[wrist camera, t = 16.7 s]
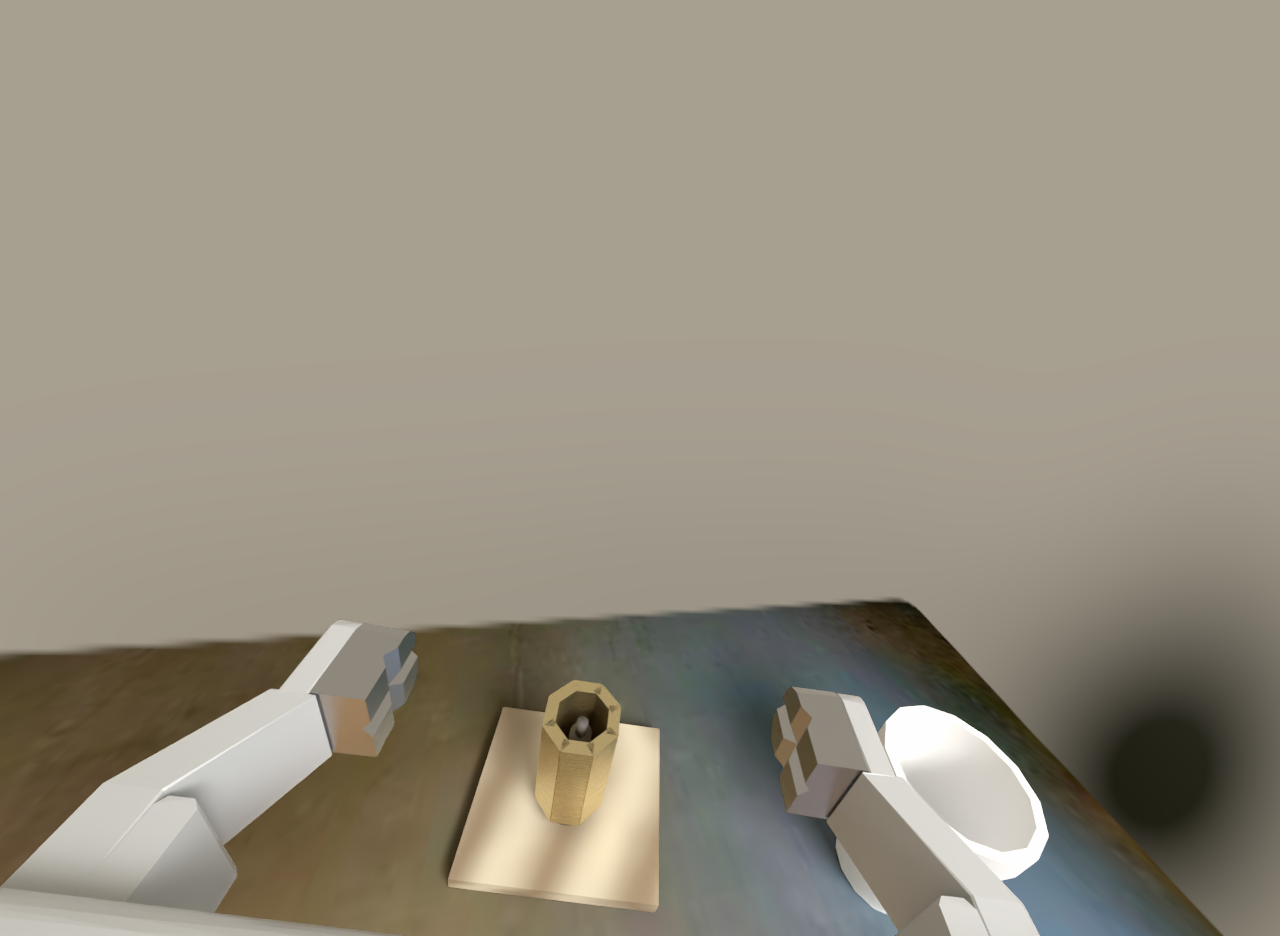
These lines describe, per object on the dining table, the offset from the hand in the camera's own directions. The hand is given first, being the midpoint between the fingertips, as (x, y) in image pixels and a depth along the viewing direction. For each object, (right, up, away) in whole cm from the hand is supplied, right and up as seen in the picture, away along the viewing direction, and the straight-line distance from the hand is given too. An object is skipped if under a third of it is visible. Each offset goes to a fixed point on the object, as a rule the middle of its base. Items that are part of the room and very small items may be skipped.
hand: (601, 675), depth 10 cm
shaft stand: (-5, -22, +26) cm, 34 cm away
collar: (-4, -20, +25) cm, 32 cm away
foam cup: (+19, -27, +26) cm, 42 cm away
